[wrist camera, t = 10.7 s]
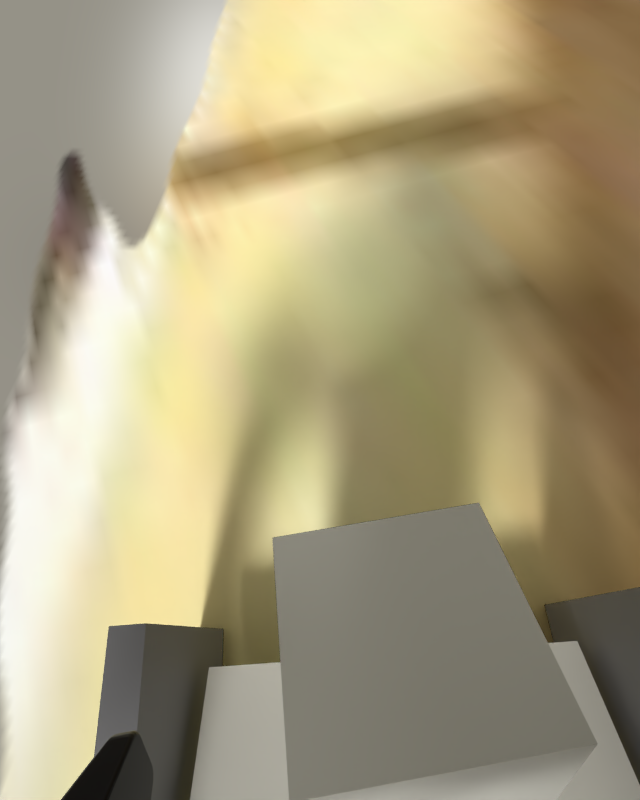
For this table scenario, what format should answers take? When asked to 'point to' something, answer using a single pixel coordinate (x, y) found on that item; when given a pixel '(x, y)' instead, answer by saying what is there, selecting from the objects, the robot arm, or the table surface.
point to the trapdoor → (266, 749)
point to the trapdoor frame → (203, 647)
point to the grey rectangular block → (418, 667)
